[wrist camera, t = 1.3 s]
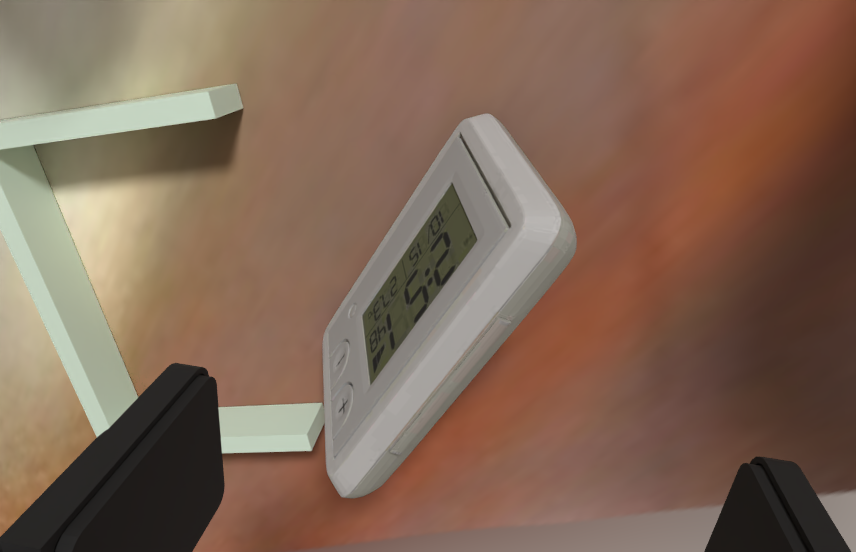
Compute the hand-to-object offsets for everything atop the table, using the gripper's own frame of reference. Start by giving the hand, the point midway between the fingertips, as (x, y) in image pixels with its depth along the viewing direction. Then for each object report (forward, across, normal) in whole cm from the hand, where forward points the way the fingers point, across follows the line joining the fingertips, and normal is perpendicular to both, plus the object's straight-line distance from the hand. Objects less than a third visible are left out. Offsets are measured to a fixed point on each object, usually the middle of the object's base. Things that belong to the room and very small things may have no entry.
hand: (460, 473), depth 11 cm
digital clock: (+21, +3, +5) cm, 22 cm away
